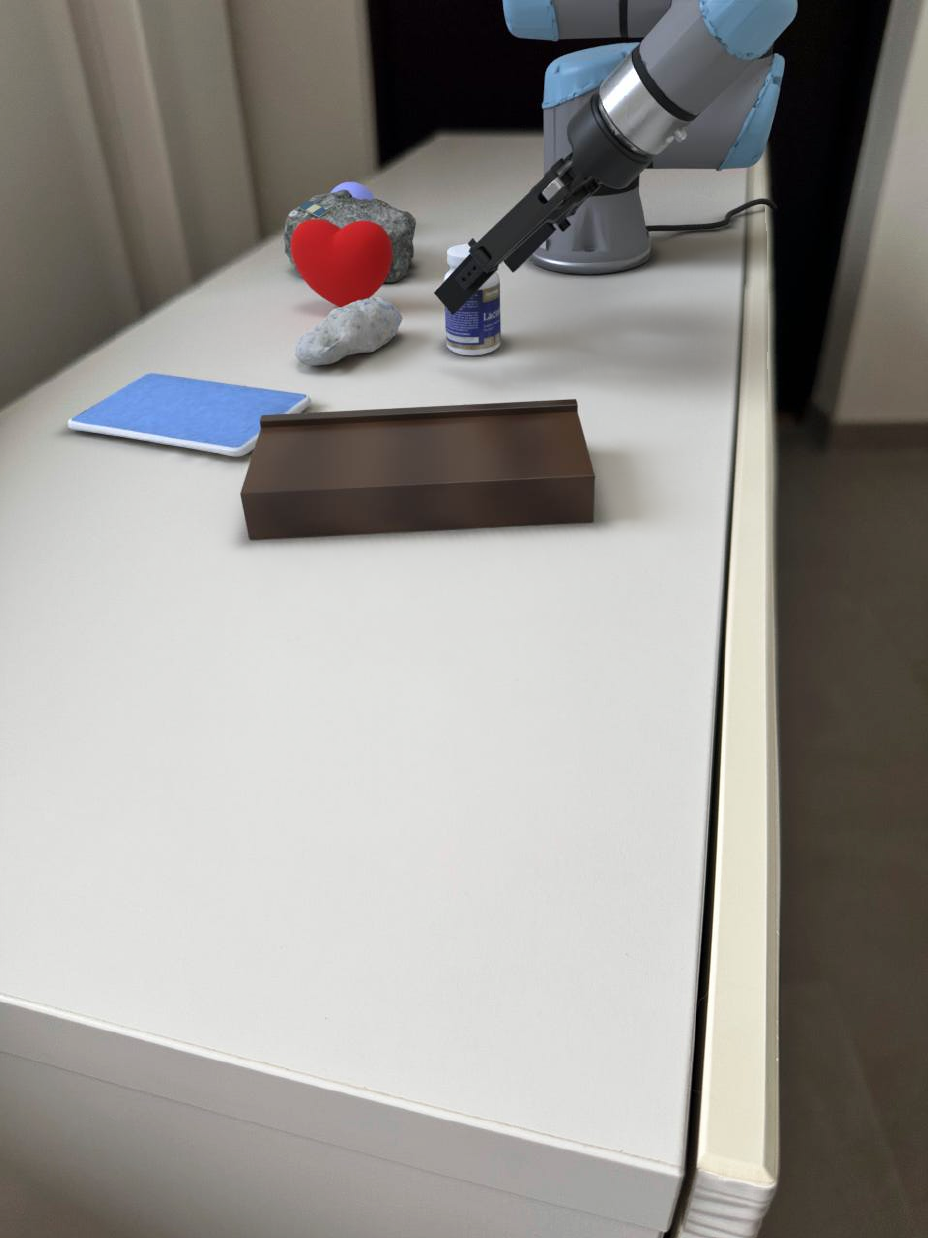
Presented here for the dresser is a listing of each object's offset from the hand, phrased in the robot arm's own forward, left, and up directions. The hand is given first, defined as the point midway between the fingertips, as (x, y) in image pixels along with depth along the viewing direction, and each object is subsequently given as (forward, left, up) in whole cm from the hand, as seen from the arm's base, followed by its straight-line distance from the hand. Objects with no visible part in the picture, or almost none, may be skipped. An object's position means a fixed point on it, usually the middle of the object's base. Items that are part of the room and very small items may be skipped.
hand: (476, 281), depth 102 cm
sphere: (-15, -45, -7) cm, 48 cm away
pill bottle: (0, -1, -7) cm, 7 cm away
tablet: (+30, -6, -7) cm, 31 cm away
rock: (-6, -32, -7) cm, 33 cm away
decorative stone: (+10, -9, -7) cm, 15 cm away
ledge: (+23, +20, -7) cm, 32 cm away
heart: (+3, -20, -7) cm, 21 cm away
